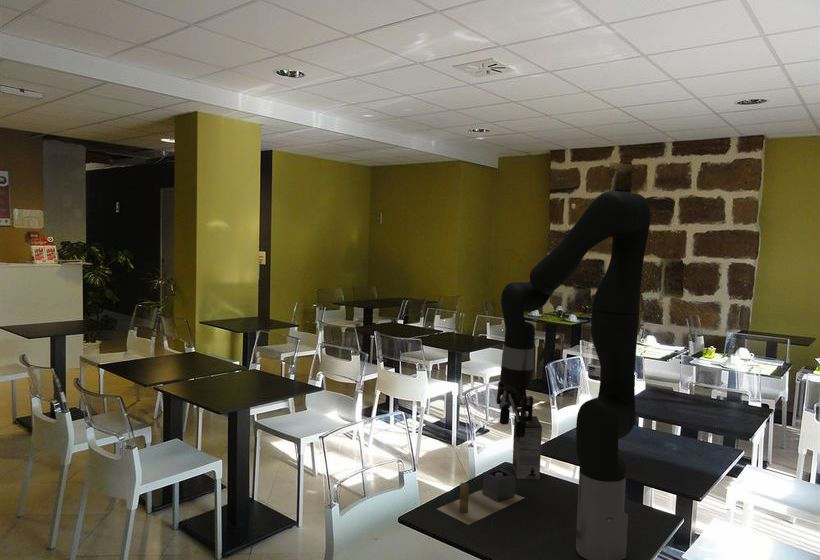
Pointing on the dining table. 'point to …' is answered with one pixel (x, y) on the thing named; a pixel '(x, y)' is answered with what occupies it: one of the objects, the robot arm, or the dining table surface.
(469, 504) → the board
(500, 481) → the collar
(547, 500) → the dining table surface
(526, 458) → the coffee box
